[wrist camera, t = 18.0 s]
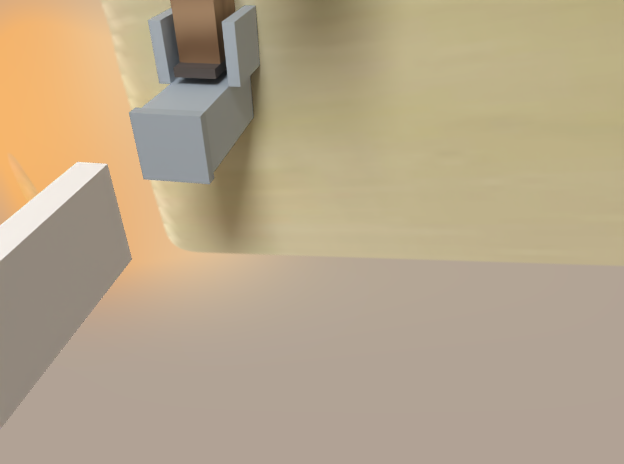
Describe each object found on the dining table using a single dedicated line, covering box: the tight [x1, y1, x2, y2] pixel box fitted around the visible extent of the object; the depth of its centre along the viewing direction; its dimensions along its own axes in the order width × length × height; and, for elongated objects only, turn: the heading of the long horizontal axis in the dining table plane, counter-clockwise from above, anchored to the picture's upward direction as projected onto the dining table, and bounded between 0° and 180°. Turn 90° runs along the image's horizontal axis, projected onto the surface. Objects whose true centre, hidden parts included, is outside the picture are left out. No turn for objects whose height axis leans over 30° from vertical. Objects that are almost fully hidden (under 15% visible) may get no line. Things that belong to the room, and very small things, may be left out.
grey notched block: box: [129, 5, 260, 184], centre depth 44 cm, size 10×7×13 cm
